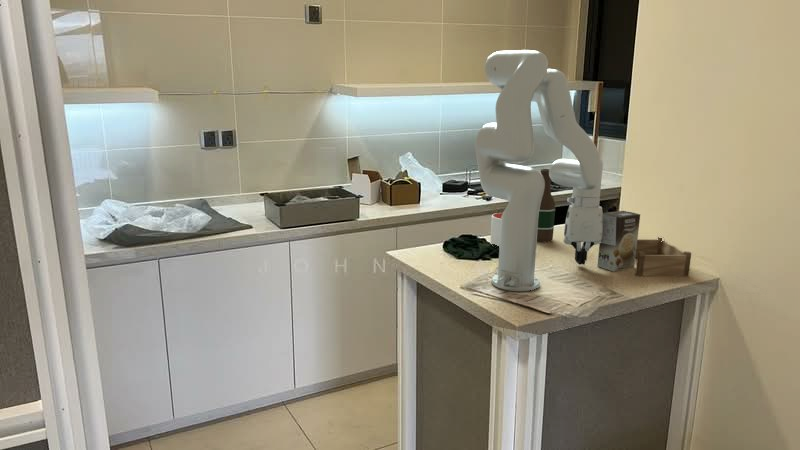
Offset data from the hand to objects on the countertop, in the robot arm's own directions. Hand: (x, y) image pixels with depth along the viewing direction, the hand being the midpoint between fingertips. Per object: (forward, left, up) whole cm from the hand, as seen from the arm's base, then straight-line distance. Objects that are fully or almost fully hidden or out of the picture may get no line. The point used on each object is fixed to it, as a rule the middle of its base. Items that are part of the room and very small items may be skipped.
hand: (580, 263), depth 184 cm
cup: (+11, +26, -1) cm, 28 cm away
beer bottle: (+25, +18, -1) cm, 31 cm away
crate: (+10, -18, -1) cm, 21 cm away
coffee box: (+5, -9, -1) cm, 11 cm away
